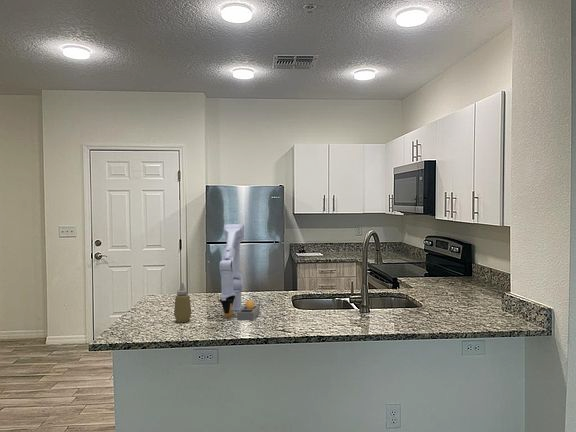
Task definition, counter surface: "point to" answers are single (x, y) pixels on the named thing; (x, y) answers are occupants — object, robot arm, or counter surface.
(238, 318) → the housing
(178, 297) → the squeeze bottle
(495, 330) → the counter surface
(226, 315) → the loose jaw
